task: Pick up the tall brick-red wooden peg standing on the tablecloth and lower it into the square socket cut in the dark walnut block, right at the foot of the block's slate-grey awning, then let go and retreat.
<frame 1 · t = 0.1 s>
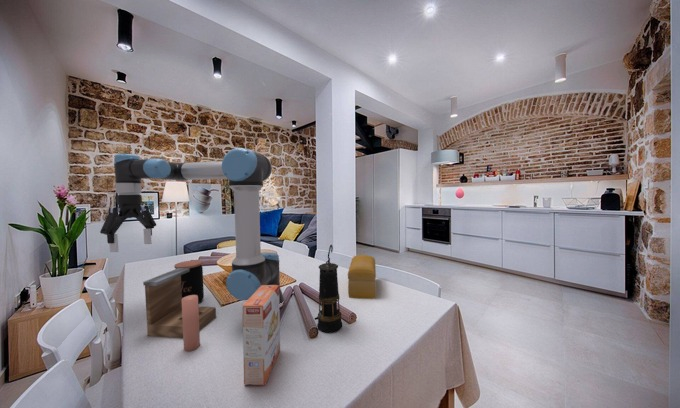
hand: (132, 247, 95), 28 cm above the table, fingers open, 13 cm apart
coffee jar: (190, 303, 108), on the table
bread: (362, 288, 122), on the table
peg: (192, 346, 77), on the table
cracker box: (264, 367, 67), on the table
station: (184, 325, 89), on the table
lantern: (329, 326, 87), on the table
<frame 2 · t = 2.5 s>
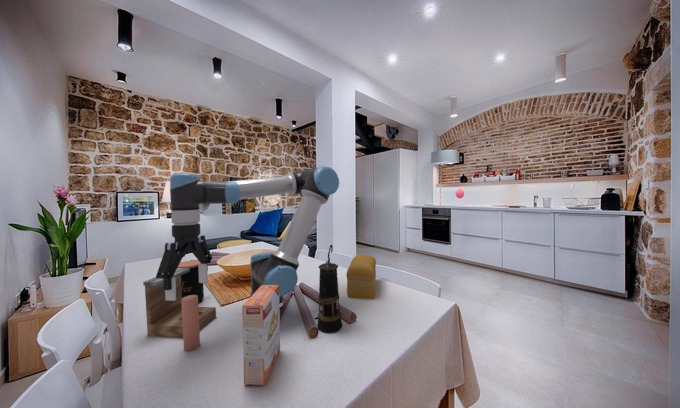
hand: (188, 290, 76), 18 cm above the table, fingers open, 13 cm apart
nothing on the table moved.
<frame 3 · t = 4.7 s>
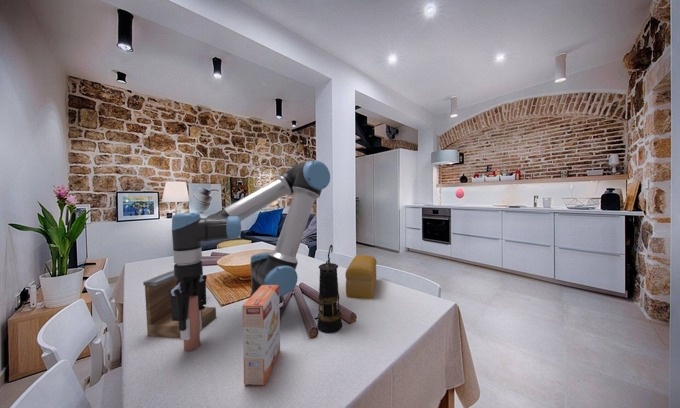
hand: (191, 334, 77), 4 cm above the table, fingers closed on peg, 4 cm apart
peg: (192, 346, 77), on the table, touching gripper
everything else where it was.
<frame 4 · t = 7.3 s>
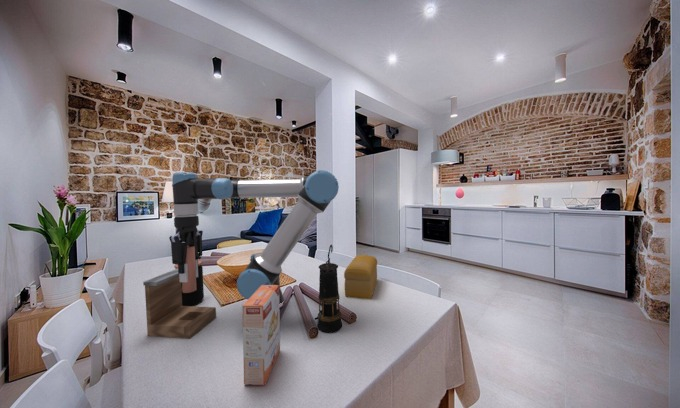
hand: (189, 279, 88), 18 cm above the table, fingers closed on peg, 4 cm apart
peg: (189, 290, 88), point 14 cm above the table, touching gripper
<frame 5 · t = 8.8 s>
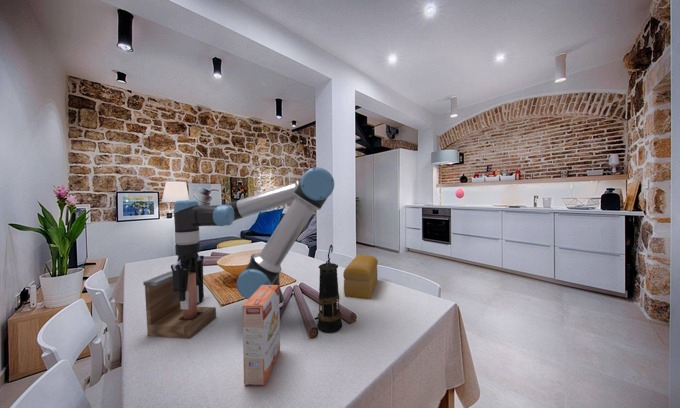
hand: (190, 305, 88), 8 cm above the table, fingers closed on peg, 4 cm apart
peg: (190, 316, 89), point 4 cm above the table, touching gripper
when the fingers open (5 cm above the table, at t = 10.1 s): peg stays where it is, resting in station.
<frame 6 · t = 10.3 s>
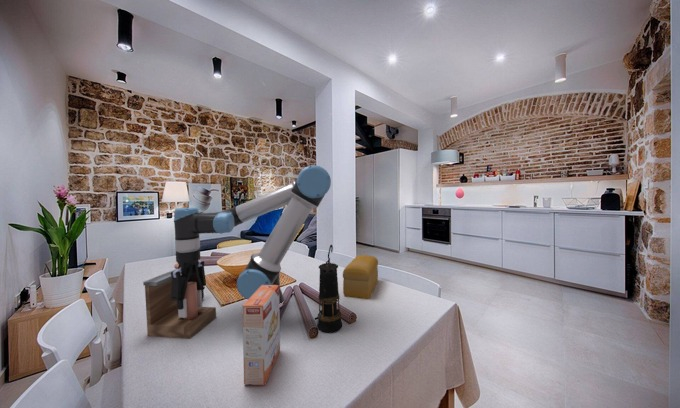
hand: (190, 311, 88), 6 cm above the table, fingers open, 7 cm apart
peg: (191, 326, 89), resting in station
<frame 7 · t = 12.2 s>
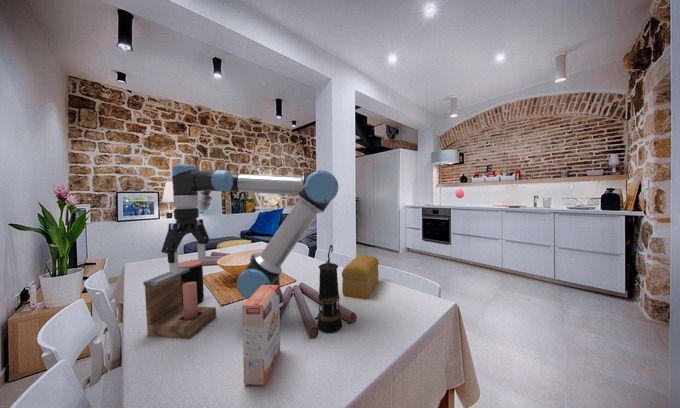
hand: (189, 265, 88), 23 cm above the table, fingers open, 13 cm apart
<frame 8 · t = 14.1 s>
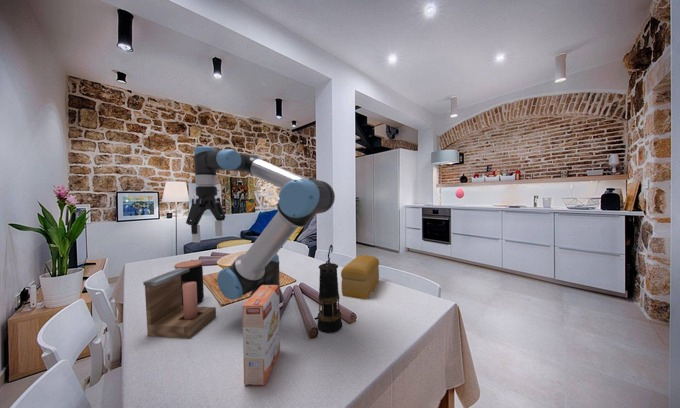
hand: (208, 238, 97), 31 cm above the table, fingers open, 13 cm apart
at the end: peg 0.0 cm from the target spot on the station, point 0.0 cm above the station's base; peg tilted 0°; the gripper is holding nothing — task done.
